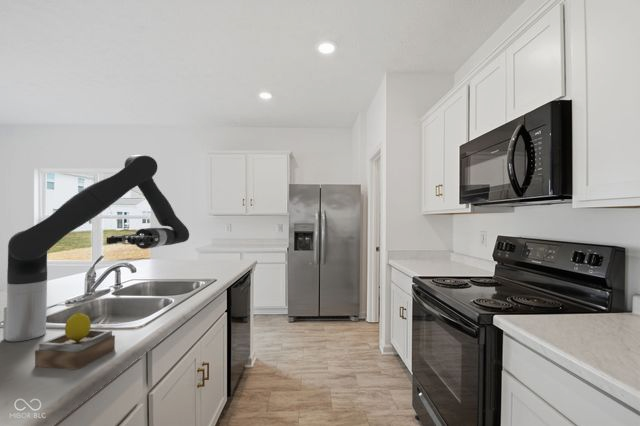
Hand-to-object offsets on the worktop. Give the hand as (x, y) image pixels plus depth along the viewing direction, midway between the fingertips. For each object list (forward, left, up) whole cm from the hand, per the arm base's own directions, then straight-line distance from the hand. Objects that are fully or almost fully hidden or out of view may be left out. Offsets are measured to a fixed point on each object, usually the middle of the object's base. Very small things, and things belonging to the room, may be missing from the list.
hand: (119, 241), depth 103 cm
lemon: (+2, -17, -26) cm, 31 cm away
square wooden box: (+2, -17, -30) cm, 35 cm away
